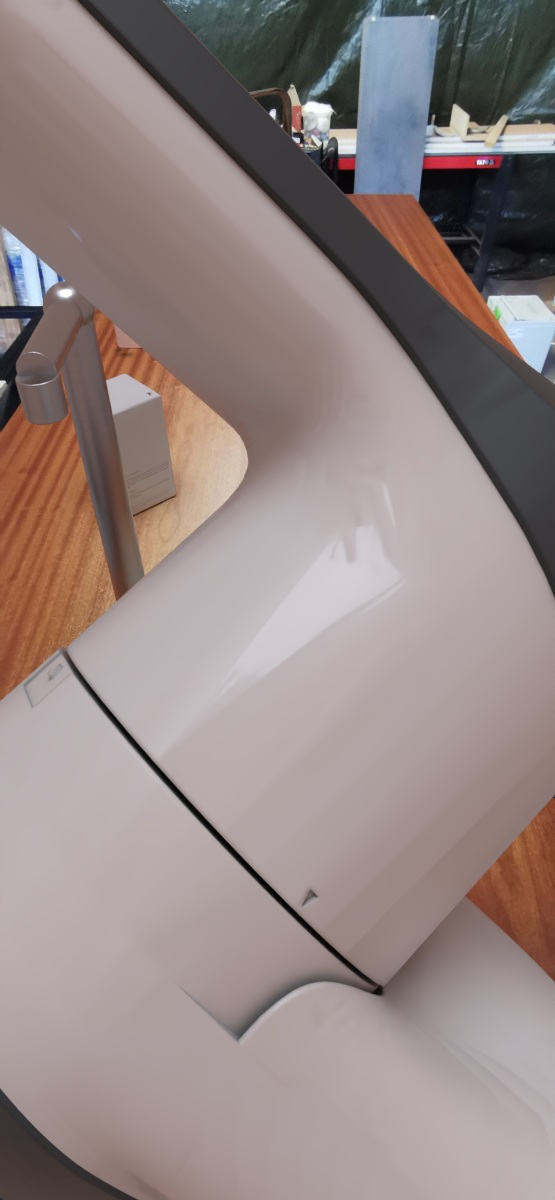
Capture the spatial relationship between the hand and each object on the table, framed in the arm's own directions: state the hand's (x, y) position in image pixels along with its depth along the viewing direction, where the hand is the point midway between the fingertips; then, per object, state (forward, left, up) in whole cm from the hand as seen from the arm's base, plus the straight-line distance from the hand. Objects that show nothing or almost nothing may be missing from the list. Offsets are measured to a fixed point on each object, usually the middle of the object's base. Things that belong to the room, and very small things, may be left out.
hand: (149, 730), depth 39 cm
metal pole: (-6, +19, -17) cm, 26 cm away
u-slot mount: (-9, +92, -17) cm, 94 cm away
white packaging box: (-10, +47, -17) cm, 51 cm away
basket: (+3, +144, -17) cm, 145 cm away
